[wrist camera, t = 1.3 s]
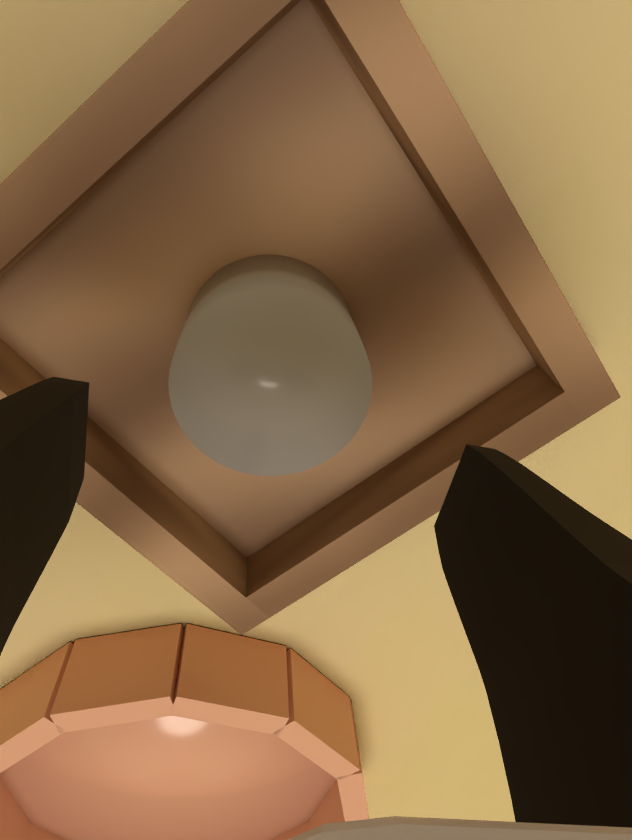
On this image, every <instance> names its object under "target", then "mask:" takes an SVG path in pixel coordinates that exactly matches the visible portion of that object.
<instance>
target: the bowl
mask: <svg viewBox="0 0 632 840" xmlns="http://www.w3.org/2000/svg"><path fill="white" fill-rule="evenodd" d="M365 819H369V815H368V808H367V802H366V795H365V788H364V782H363V775H362V768H361V762H360V755H359V748H358V742H357V735H356V729H355V722H354V715H353V709H352V702H351V700H350V698H349V696H347V695H346V694H345V693H344V692H343V691H341V690H340V689H339V688H338V687H337V686H335V685H334V684H333V683H332V682H331V681H329V680H328V679H327V678H326V677H325V676H323V675H322V674H321V673H320V672H319V671H317V670H316V669H315V668H314V667H313V666H311V665H310V664H309V663H308V662H307V661H305V660H304V659H303V658H302V657H301V656H299V655H298V654H297V653H296V652H295V651H293V650H292V649H291V648H290V649H289V650H287V651H286V646H284V645H279V644H275V643H270V642H266V641H261V640H257V639H253V638H248V637H244V636H239V635H235V634H231V633H226V632H222V631H217V630H213V629H208V628H204V627H200V626H195V625H191V624H187V625H186V628H185V630H184V631H183V628H182V625H181V624H174V625H168V626H161V627H155V628H148V629H142V630H135V631H129V632H122V633H116V634H109V635H103V636H96V637H90V638H83V639H77V640H75V643H74V644H73V643H72V642H69V643H68V644H66V645H65V646H63V647H62V648H60V649H59V650H57V651H56V652H54V653H53V654H52V655H50V656H49V657H47V658H46V659H44V660H43V661H41V662H40V663H38V664H37V665H35V666H34V667H33V668H31V669H30V670H28V671H27V672H25V673H24V674H22V675H21V676H19V677H18V678H16V679H15V680H14V681H12V682H11V683H9V684H8V685H6V686H5V687H3V688H2V689H0V840H288V839H290V838H293V837H295V836H297V835H300V834H302V833H304V832H307V831H309V830H311V829H313V828H316V827H318V826H320V825H323V824H326V823H336V822H346V821H355V820H365Z"/></svg>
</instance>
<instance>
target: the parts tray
mask: <svg viewBox="0 0 632 840" xmlns="http://www.w3.org/2000/svg"><path fill="white" fill-rule="evenodd" d="M267 254H268V255H281V256H287V257H291V258H294V259H297V260H300V261H303V262H305V263H307V264H309V265H311V266H313V267H314V268H316V269H317V270H319V271H320V272H322V273H323V274H324V275H325V276H326V277H328V278H329V279H330V280H331V281H332V282H333V284H334V285H335V286H336V287H337V288H338V290H339V291H340V293H341V294H342V296H343V298H344V300H345V302H346V304H347V306H348V309H349V311H350V314H351V316H352V318H353V321H354V323H355V326H356V328H357V331H358V333H359V336H360V338H361V341H362V343H363V346H364V348H365V351H366V353H367V356H368V360H369V363H370V367H371V373H372V394H371V401H370V405H369V408H368V412H367V414H366V417H365V419H364V421H363V423H362V425H361V427H360V428H359V430H358V432H357V433H356V434H355V436H354V437H353V438H352V439H351V441H350V442H349V443H348V444H347V445H346V446H345V447H344V448H343V449H342V450H341V451H339V452H338V453H337V454H336V455H334V456H333V457H332V458H330V459H328V460H327V461H325V462H323V463H322V464H320V465H317V466H315V467H313V468H311V469H308V470H305V471H302V472H298V473H293V474H288V475H280V476H260V475H252V474H247V473H243V472H239V471H236V470H233V469H230V468H227V467H225V466H223V465H221V464H219V463H217V462H215V461H214V460H212V459H211V458H209V457H208V456H206V455H205V454H204V453H202V452H201V451H200V450H199V449H198V448H196V447H195V446H194V444H193V443H192V442H191V441H190V440H189V439H188V438H187V436H186V435H185V433H184V432H183V431H182V429H181V428H180V426H179V424H178V422H177V420H176V418H175V415H174V412H173V410H172V407H171V402H170V397H169V385H168V381H169V371H170V366H171V362H172V358H173V355H174V352H175V349H176V347H177V344H178V341H179V338H180V335H181V332H182V329H183V326H184V323H185V320H186V317H187V315H188V312H189V309H190V306H191V304H192V302H193V299H194V297H195V296H196V294H197V292H198V291H199V289H200V288H201V287H202V286H203V284H204V283H205V282H206V281H207V280H208V279H209V278H210V277H211V276H212V275H213V274H214V273H216V272H217V271H218V270H220V269H221V268H223V267H224V266H226V265H228V264H230V263H232V262H234V261H237V260H240V259H243V258H246V257H251V256H255V255H267ZM51 377H59V378H65V379H71V380H77V381H83V382H89V398H88V416H87V435H86V453H85V471H84V480H83V483H82V485H81V488H80V491H79V494H78V497H77V500H76V502H77V503H78V504H79V505H80V506H82V507H83V508H84V509H85V510H87V511H88V512H89V513H90V514H92V515H93V516H94V517H95V518H97V519H98V520H99V521H100V522H102V523H103V524H104V525H105V526H107V527H108V528H109V529H110V530H112V531H113V532H114V533H115V534H117V535H118V536H119V537H120V538H122V539H123V540H124V541H125V542H127V543H128V544H129V545H130V546H132V547H133V548H134V549H135V550H137V551H138V552H139V553H140V554H142V555H143V556H144V557H145V558H147V559H148V560H149V561H150V562H152V563H153V564H154V565H155V566H157V567H158V568H159V569H160V570H161V571H163V572H164V573H165V574H166V575H168V576H169V577H170V578H171V579H173V580H174V581H175V582H176V583H178V584H179V585H180V586H181V587H183V588H184V589H185V590H186V591H188V592H189V593H190V594H191V595H193V596H194V597H195V598H196V599H198V600H199V601H200V602H201V603H203V604H204V605H205V606H206V607H208V608H209V609H210V610H211V611H213V612H214V613H215V614H216V615H218V616H219V617H220V618H221V619H223V620H224V621H225V622H226V623H228V624H229V625H230V626H231V627H233V628H234V629H235V630H236V631H238V632H239V633H240V634H241V635H243V634H244V633H246V632H247V631H249V630H251V629H252V628H254V627H255V626H257V625H259V624H260V623H262V622H263V621H265V620H267V619H268V618H270V617H271V616H273V615H274V614H276V613H278V612H279V611H281V610H282V609H284V608H286V607H287V606H289V605H290V604H292V603H294V602H295V601H297V600H298V599H300V598H302V597H303V596H305V595H306V594H308V593H310V592H311V591H313V590H314V589H316V588H317V587H319V586H321V585H322V584H324V583H325V582H327V581H329V580H330V579H332V578H333V577H335V576H337V575H338V574H340V573H341V572H343V571H345V570H346V569H348V568H349V567H351V566H353V565H354V564H356V563H357V562H359V561H360V560H362V559H364V558H365V557H367V556H368V555H370V554H372V553H373V552H375V551H376V550H378V549H380V548H381V547H383V546H384V545H386V544H388V543H389V542H391V541H392V540H394V539H396V538H397V537H399V536H400V535H402V534H403V533H405V532H407V531H408V530H410V529H411V528H413V527H415V526H416V525H418V524H419V523H421V522H423V521H424V520H426V519H427V518H429V517H431V516H432V515H434V514H435V513H437V512H439V511H440V510H441V507H442V505H443V502H444V500H445V497H446V495H447V492H448V490H449V487H450V485H451V482H452V479H453V477H454V474H455V472H456V469H457V467H458V464H459V462H460V459H461V457H462V454H463V451H464V449H465V446H466V444H468V445H475V446H481V447H487V448H493V449H496V450H498V451H500V452H502V453H504V454H506V455H507V456H509V457H511V458H512V459H514V460H516V461H517V462H518V461H520V460H521V459H523V458H525V457H526V456H528V455H529V454H531V453H532V452H534V451H536V450H537V449H539V448H540V447H542V446H544V445H545V444H547V443H548V442H550V441H552V440H553V439H555V438H556V437H558V436H560V435H561V434H563V433H564V432H566V431H568V430H569V429H571V428H572V427H574V426H576V425H577V424H579V423H580V422H582V421H583V420H585V419H587V418H588V417H590V416H591V415H593V414H595V413H596V412H598V411H599V410H601V409H603V408H604V407H606V406H607V405H609V404H611V403H612V402H614V401H615V400H617V399H619V398H620V395H619V393H618V391H617V390H616V388H615V386H614V384H613V382H612V381H611V379H610V377H609V375H608V373H607V372H606V370H605V368H604V366H603V365H602V363H601V361H600V359H599V357H598V356H597V354H596V352H595V350H594V348H593V347H592V345H591V343H590V341H589V340H588V338H587V336H586V334H585V332H584V331H583V329H582V327H581V325H580V323H579V322H578V320H577V318H576V316H575V314H574V313H573V311H572V309H571V307H570V306H569V304H568V302H567V300H566V298H565V297H564V295H563V293H562V291H561V289H560V288H559V286H558V284H557V282H556V281H555V279H554V277H553V275H552V273H551V272H550V270H549V268H548V266H547V264H546V263H545V261H544V259H543V257H542V255H541V254H540V252H539V250H538V248H537V247H536V245H535V243H534V241H533V239H532V238H531V236H530V234H529V232H528V230H527V229H526V227H525V225H524V223H523V222H522V220H521V218H520V216H519V214H518V213H517V211H516V209H515V207H514V205H513V204H512V202H511V200H510V198H509V197H508V195H507V193H506V191H505V189H504V188H503V186H502V184H501V182H500V180H499V179H498V177H497V175H496V173H495V171H494V170H493V168H492V166H491V164H490V163H489V161H488V159H487V157H486V155H485V154H484V152H483V150H482V148H481V146H480V145H479V143H478V141H477V139H476V138H475V136H474V134H473V132H472V130H471V129H470V127H469V125H468V123H467V121H466V120H465V118H464V116H463V114H462V112H461V111H460V109H459V107H458V105H457V104H456V102H455V100H454V98H453V96H452V95H451V93H450V91H449V89H448V87H447V86H446V84H445V82H444V80H443V79H442V77H441V75H440V73H439V71H438V70H437V68H436V66H435V64H434V62H433V61H432V59H431V57H430V55H429V54H428V52H427V50H426V48H425V46H424V45H423V43H422V41H421V39H420V37H419V36H418V34H417V32H416V30H415V28H414V27H413V25H412V23H411V21H410V20H409V18H408V16H407V14H406V12H405V11H404V9H403V7H402V5H401V3H400V2H399V0H189V1H188V2H187V3H186V4H185V5H184V6H183V7H182V8H181V9H180V10H179V11H178V12H177V13H176V14H175V15H174V16H173V17H172V18H171V19H170V20H169V21H168V22H167V23H166V24H165V25H164V26H162V27H161V28H160V29H159V30H158V31H157V32H156V33H155V34H154V35H153V36H152V37H151V38H150V39H149V40H148V41H147V42H146V43H145V44H144V45H143V46H142V47H141V48H140V49H139V50H138V51H137V52H136V53H135V54H134V55H133V56H132V57H131V58H130V59H129V60H128V61H127V62H126V63H125V64H124V65H123V66H121V67H120V68H119V69H118V70H117V71H116V72H115V73H114V74H113V75H112V76H111V77H110V78H109V79H108V80H107V81H106V82H105V83H104V84H103V85H102V86H101V87H100V88H99V89H98V90H97V91H96V92H95V93H94V94H93V95H92V96H91V97H90V98H89V99H88V100H87V101H86V102H85V103H84V104H83V105H82V106H80V107H79V108H78V109H77V110H76V111H75V112H74V113H73V114H72V115H71V116H70V117H69V118H68V119H67V120H66V121H65V122H64V123H63V124H62V125H61V126H60V127H59V128H58V129H57V130H56V131H55V132H54V133H53V134H52V135H51V136H50V137H49V138H48V139H47V140H46V141H45V142H44V143H43V144H42V145H41V146H39V147H38V148H37V149H36V150H35V151H34V152H33V153H32V154H31V155H30V156H29V157H28V158H27V159H26V160H25V161H24V162H23V163H22V164H21V165H20V166H19V167H18V168H17V169H16V170H15V171H14V172H13V173H12V174H11V175H10V176H9V177H8V178H7V179H6V180H5V181H4V182H3V183H2V184H1V185H0V399H3V398H5V397H7V396H9V395H11V394H14V393H16V392H18V391H20V390H22V389H25V388H27V387H29V386H31V385H33V384H36V383H38V382H40V381H43V380H45V379H48V378H51Z"/></svg>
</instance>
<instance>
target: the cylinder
mask: <svg viewBox="0 0 632 840" xmlns="http://www.w3.org/2000/svg"><path fill="white" fill-rule="evenodd" d="M168 385H169V397H170V402H171V407H172V410H173V412H174V415H175V418H176V420H177V422H178V424H179V426H180V428H181V429H182V431H183V432H184V433H185V435H186V436H187V438H188V439H189V440H190V441H191V442H192V443H193V444H194V446H195V447H196V448H198V449H199V450H200V451H201V452H202V453H204V454H205V455H206V456H208V457H209V458H211V459H212V460H214V461H215V462H217V463H219V464H221V465H223V466H225V467H227V468H230V469H233V470H236V471H239V472H243V473H247V474H252V475H260V476H280V475H288V474H293V473H298V472H302V471H305V470H308V469H311V468H313V467H315V466H317V465H320V464H322V463H323V462H325V461H327V460H328V459H330V458H332V457H333V456H334V455H336V454H337V453H338V452H339V451H341V450H342V449H343V448H344V447H345V446H346V445H347V444H348V443H349V442H350V441H351V439H352V438H353V437H354V436H355V434H356V433H357V432H358V430H359V428H360V427H361V425H362V423H363V421H364V419H365V417H366V414H367V412H368V408H369V405H370V401H371V394H372V373H371V367H370V363H369V360H368V356H367V353H366V351H365V348H364V346H363V343H362V341H361V338H360V336H359V333H358V331H357V328H356V326H355V323H354V321H353V318H352V316H351V314H350V311H349V309H348V306H347V304H346V302H345V300H344V298H343V296H342V294H341V293H340V291H339V290H338V288H337V287H336V286H335V285H334V284H333V282H332V281H331V280H330V279H329V278H328V277H326V276H325V275H324V274H323V273H322V272H320V271H319V270H317V269H316V268H314V267H313V266H311V265H309V264H307V263H305V262H303V261H300V260H297V259H294V258H291V257H287V256H281V255H268V254H267V255H255V256H251V257H246V258H243V259H240V260H237V261H234V262H232V263H230V264H228V265H226V266H224V267H223V268H221V269H220V270H218V271H217V272H216V273H214V274H213V275H212V276H211V277H210V278H209V279H208V280H207V281H206V282H205V283H204V284H203V286H202V287H201V288H200V289H199V291H198V292H197V294H196V296H195V297H194V299H193V302H192V304H191V306H190V309H189V312H188V315H187V317H186V320H185V323H184V326H183V329H182V332H181V335H180V338H179V341H178V344H177V347H176V349H175V352H174V355H173V358H172V362H171V366H170V371H169V381H168Z"/></svg>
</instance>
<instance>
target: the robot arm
mask: <svg viewBox="0 0 632 840" xmlns="http://www.w3.org/2000/svg"><path fill="white" fill-rule="evenodd" d="M88 398H89V382H83V381H77V380H71V379H65V378H59V377H51V378H48V379H45V380H43V381H40V382H38V383H36V384H33V385H31V386H29V387H27V388H25V389H22V390H20V391H18V392H16V393H14V394H11V395H9V396H7V397H5V398H3V399H0V655H1V652H2V650H3V648H4V646H5V643H6V641H7V639H8V637H9V635H10V633H11V631H12V629H13V627H14V624H15V623H16V621H17V619H18V617H19V615H20V613H21V611H22V609H23V607H24V606H25V604H26V602H27V600H28V598H29V596H30V594H31V592H32V591H33V589H34V587H35V585H36V583H37V581H38V579H39V577H40V576H41V574H42V572H43V570H44V568H45V566H46V564H47V562H48V561H49V559H50V557H51V555H52V553H53V551H54V549H55V547H56V545H57V543H58V541H59V540H60V538H61V536H62V534H63V532H64V530H65V528H66V526H67V524H68V522H69V519H70V516H71V514H72V511H73V508H74V506H75V503H76V500H77V497H78V494H79V491H80V488H81V485H82V483H83V480H84V471H85V453H86V435H87V416H88ZM434 527H435V533H436V538H437V544H438V549H439V554H440V559H441V563H442V568H443V571H444V574H445V577H446V580H447V583H448V586H449V588H450V591H451V594H452V597H453V599H454V602H455V605H456V608H457V610H458V613H459V616H460V619H461V621H462V624H463V627H464V629H465V632H466V635H467V637H468V640H469V643H470V645H471V648H472V651H473V654H474V656H475V659H476V662H477V664H478V667H479V670H480V673H481V676H482V679H483V683H484V686H485V689H486V692H487V696H488V700H489V704H490V708H491V712H492V716H493V720H494V724H495V728H496V732H497V736H498V740H499V744H500V749H501V753H502V758H503V762H504V767H505V771H506V776H507V781H508V785H509V790H510V794H511V799H512V804H513V810H514V815H515V821H516V822H502V821H481V820H461V819H440V818H419V817H398V816H394V817H384V818H374V819H365V820H355V821H346V822H336V823H326V824H323V825H320V826H318V827H316V828H313V829H311V830H309V831H307V832H304V833H302V834H300V835H297V836H295V837H293V838H290V839H288V840H632V540H631V539H630V538H628V537H627V536H625V535H624V534H622V533H620V532H619V531H617V530H616V529H614V528H613V527H611V526H610V525H608V524H607V523H605V522H603V521H602V520H600V519H599V518H597V517H596V516H595V515H593V514H592V513H590V512H589V511H587V510H586V509H584V508H583V507H581V506H580V505H578V504H577V503H576V502H574V501H573V500H571V499H570V498H569V497H567V496H566V495H564V494H563V493H561V492H560V491H559V490H557V489H556V488H554V487H553V486H552V485H550V484H549V483H547V482H546V481H545V480H543V479H542V478H540V477H539V476H538V475H536V474H535V473H533V472H532V471H530V470H529V469H528V468H526V467H525V466H523V465H522V464H520V463H519V462H517V461H516V460H514V459H512V458H511V457H509V456H507V455H506V454H504V453H502V452H500V451H498V450H496V449H493V448H487V447H481V446H475V445H468V444H466V446H465V449H464V451H463V454H462V457H461V459H460V462H459V464H458V467H457V469H456V472H455V474H454V477H453V479H452V482H451V485H450V487H449V490H448V492H447V495H446V497H445V500H444V502H443V505H442V507H441V510H440V513H439V515H438V518H437V520H436V523H435V525H434Z"/></svg>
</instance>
